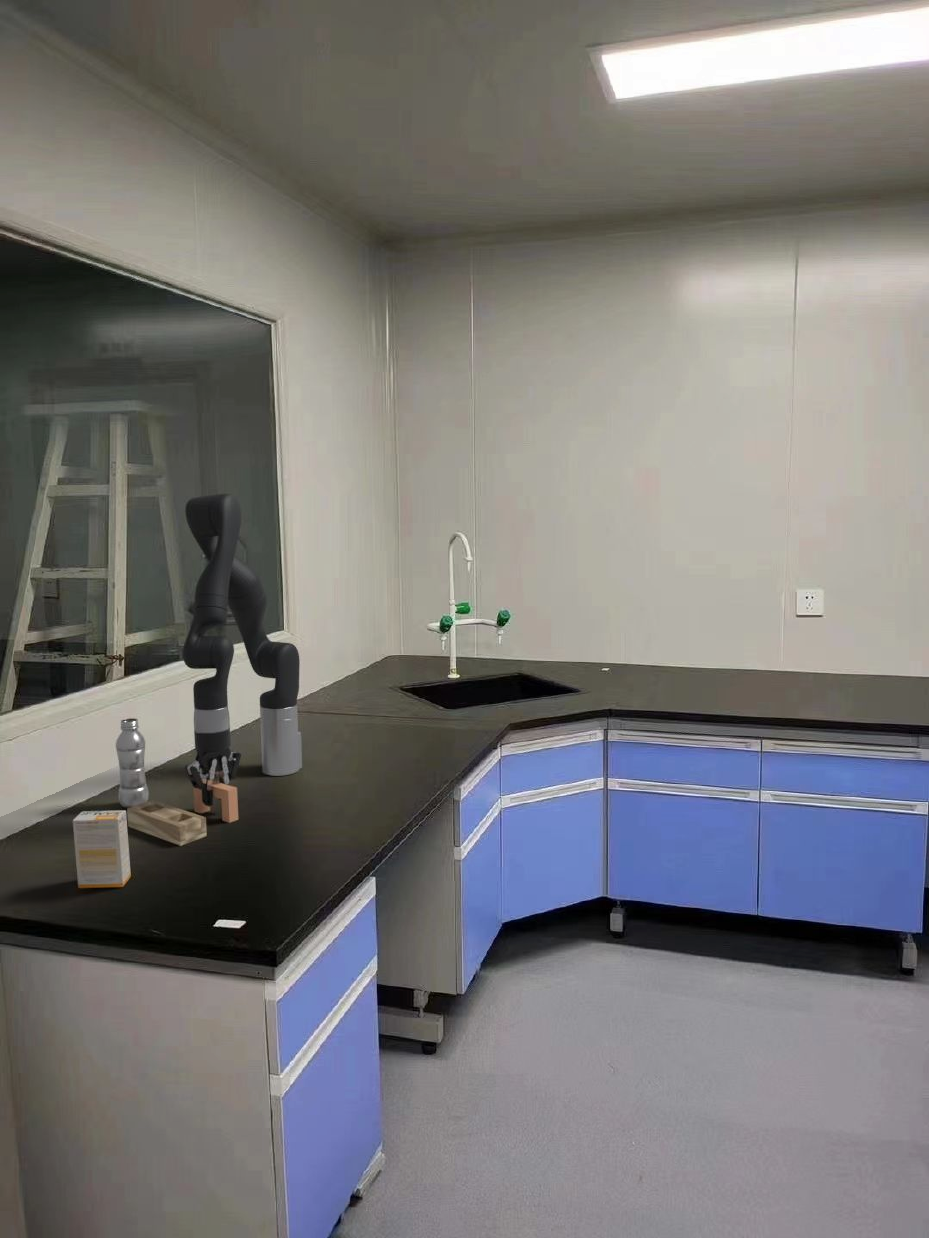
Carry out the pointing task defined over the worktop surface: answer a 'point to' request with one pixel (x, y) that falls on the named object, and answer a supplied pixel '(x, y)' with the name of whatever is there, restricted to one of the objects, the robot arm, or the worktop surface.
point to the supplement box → (101, 849)
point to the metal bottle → (131, 764)
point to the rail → (167, 822)
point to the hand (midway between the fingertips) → (215, 802)
